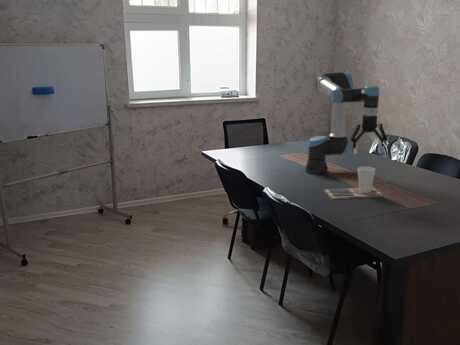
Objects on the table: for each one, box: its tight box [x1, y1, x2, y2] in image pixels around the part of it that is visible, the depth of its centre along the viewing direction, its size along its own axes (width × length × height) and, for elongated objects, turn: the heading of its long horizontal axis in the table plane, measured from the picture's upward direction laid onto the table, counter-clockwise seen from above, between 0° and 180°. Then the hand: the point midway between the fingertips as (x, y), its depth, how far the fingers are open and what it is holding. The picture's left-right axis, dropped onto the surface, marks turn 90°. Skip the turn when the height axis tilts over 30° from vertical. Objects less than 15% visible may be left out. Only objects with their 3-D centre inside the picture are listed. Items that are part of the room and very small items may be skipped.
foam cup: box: [357, 166, 376, 193], centre depth 243 cm, size 10×9×13 cm
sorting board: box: [323, 186, 384, 200], centre depth 245 cm, size 15×29×1 cm, turn 94°
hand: (367, 153), depth 240 cm, fingers open, 13 cm apart
